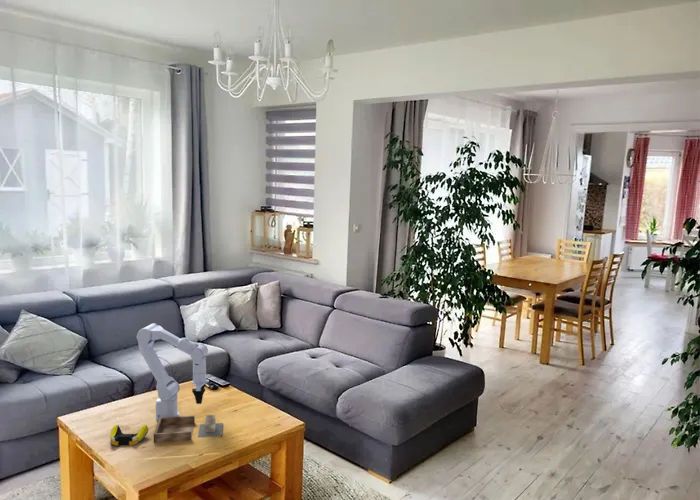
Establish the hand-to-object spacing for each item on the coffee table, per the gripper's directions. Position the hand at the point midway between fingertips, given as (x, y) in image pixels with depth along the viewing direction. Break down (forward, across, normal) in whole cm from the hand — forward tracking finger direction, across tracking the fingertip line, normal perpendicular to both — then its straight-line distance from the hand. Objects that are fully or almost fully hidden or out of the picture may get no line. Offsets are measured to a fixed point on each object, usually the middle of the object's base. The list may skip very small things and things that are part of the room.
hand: (199, 400), depth 241 cm
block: (+9, -12, -5) cm, 16 cm away
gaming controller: (+10, -16, +28) cm, 34 cm away
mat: (+9, -12, -6) cm, 16 cm away
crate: (+9, -12, +9) cm, 18 cm away
